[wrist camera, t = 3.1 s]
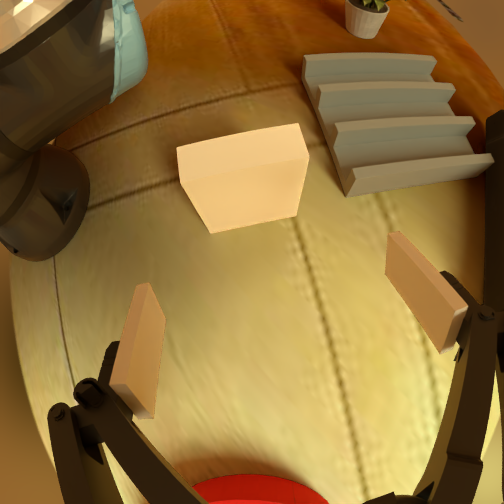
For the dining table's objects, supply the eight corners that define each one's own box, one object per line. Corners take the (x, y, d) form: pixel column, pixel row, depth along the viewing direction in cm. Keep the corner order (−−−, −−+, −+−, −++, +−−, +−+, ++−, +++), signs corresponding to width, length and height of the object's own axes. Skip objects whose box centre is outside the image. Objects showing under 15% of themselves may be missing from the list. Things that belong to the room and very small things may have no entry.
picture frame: (295, 216, 32) (309, 156, 21) (210, 233, 32) (180, 182, 21) (288, 188, 33) (297, 121, 21) (205, 205, 33) (176, 145, 22)
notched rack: (476, 177, 33) (494, 161, 28) (345, 197, 33) (355, 179, 28) (423, 75, 37) (432, 56, 32) (301, 78, 37) (303, 55, 32)
